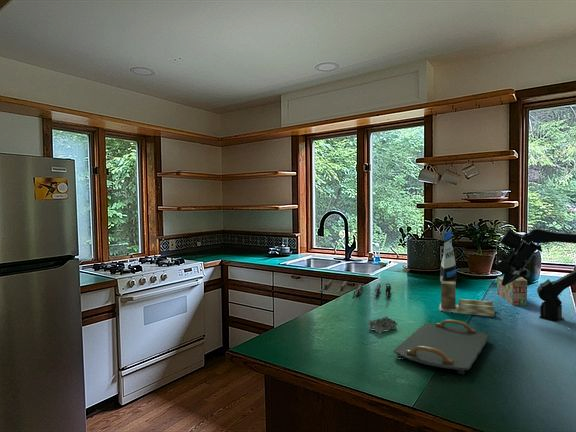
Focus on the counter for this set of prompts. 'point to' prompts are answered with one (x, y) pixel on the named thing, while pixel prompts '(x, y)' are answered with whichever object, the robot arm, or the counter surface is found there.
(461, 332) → the serving board
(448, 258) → the protein powder
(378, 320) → the bumpy grey rock
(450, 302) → the walnut block
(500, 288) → the stack of blocks
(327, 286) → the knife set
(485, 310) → the chute
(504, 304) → the counter surface
